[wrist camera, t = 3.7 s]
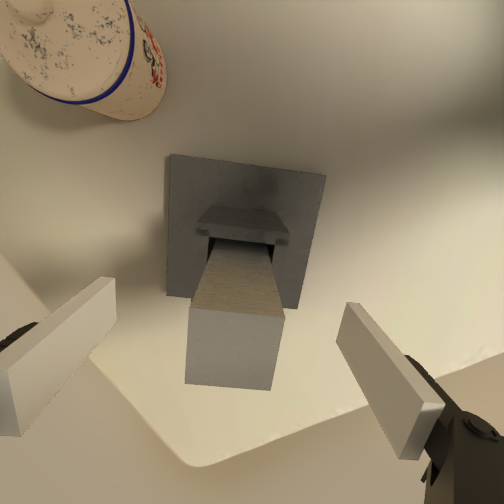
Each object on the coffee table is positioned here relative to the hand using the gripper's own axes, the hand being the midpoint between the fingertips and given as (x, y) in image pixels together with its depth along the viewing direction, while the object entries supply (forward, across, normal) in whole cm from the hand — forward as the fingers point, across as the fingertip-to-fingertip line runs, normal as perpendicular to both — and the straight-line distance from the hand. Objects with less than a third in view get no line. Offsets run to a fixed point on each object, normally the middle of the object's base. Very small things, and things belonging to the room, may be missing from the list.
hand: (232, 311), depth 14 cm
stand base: (+16, 0, 0) cm, 16 cm away
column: (+14, 0, 0) cm, 15 cm away
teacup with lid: (+16, -14, +16) cm, 27 cm away
